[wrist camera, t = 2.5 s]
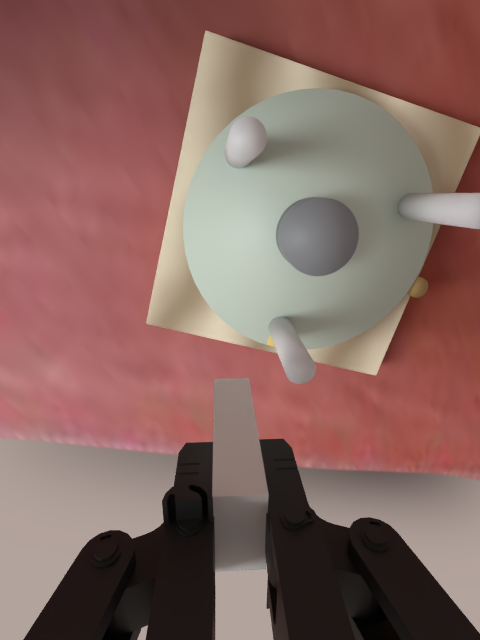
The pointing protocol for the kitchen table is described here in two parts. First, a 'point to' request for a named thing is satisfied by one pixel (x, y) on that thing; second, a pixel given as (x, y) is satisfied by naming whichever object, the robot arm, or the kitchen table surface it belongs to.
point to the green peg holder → (312, 221)
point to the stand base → (219, 111)
